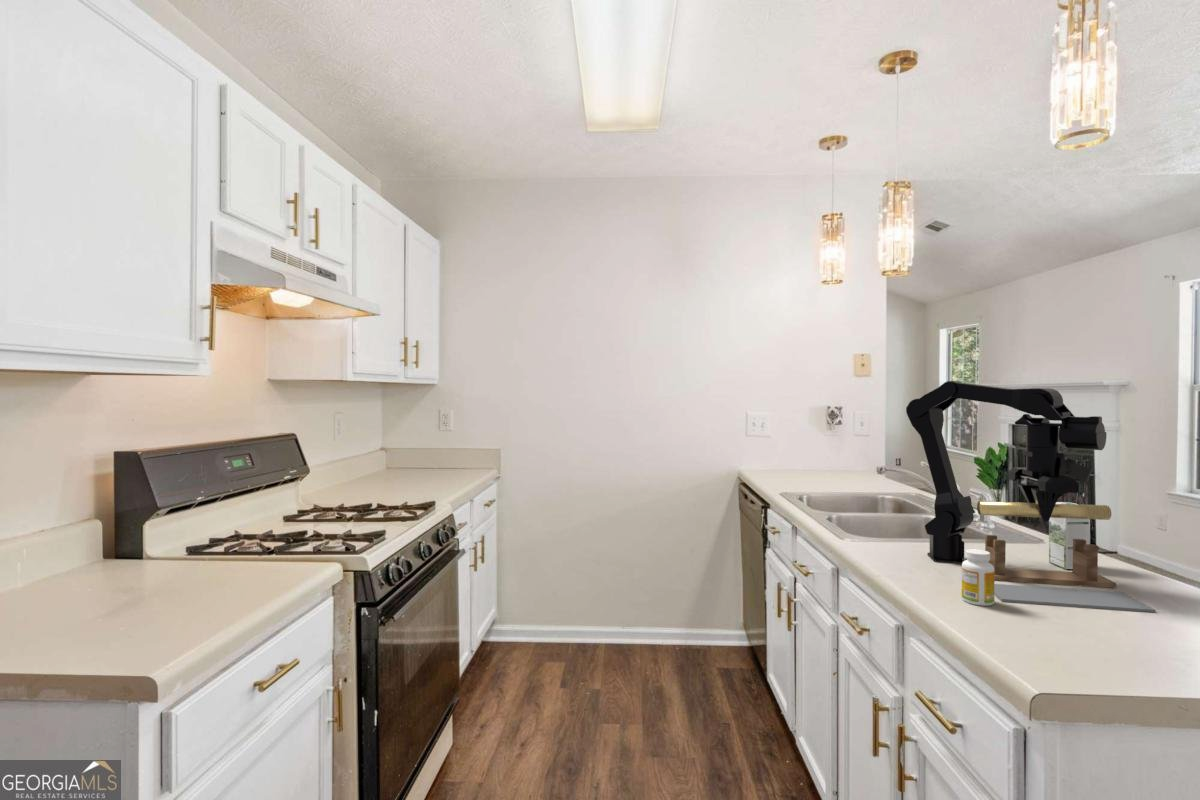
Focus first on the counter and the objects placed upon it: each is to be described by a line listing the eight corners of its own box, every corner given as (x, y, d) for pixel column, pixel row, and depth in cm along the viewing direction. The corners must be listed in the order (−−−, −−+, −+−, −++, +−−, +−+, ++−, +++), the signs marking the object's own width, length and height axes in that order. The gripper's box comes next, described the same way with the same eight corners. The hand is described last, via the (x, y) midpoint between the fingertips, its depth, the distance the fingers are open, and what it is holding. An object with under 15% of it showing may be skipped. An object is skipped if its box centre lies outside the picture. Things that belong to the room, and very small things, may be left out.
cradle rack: (980, 579, 132) (980, 540, 132) (969, 570, 139) (969, 533, 139) (1116, 588, 126) (1116, 547, 126) (1097, 577, 133) (1098, 539, 133)
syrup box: (1091, 570, 139) (1092, 506, 138) (1065, 570, 139) (1065, 506, 138) (1072, 563, 144) (1073, 501, 144) (1047, 563, 144) (1047, 501, 144)
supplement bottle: (989, 598, 120) (990, 549, 120) (997, 607, 115) (998, 556, 115) (958, 595, 122) (959, 547, 122) (965, 604, 117) (965, 553, 116)
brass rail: (982, 516, 132) (982, 502, 132) (977, 513, 135) (977, 500, 135) (1111, 521, 127) (1111, 506, 127) (1103, 518, 130) (1103, 504, 130)
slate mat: (1001, 601, 118) (1001, 598, 118) (982, 585, 128) (982, 583, 128) (1155, 612, 112) (1155, 609, 112) (1123, 594, 122) (1123, 592, 122)
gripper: (1111, 451, 120) (1111, 531, 120) (1063, 443, 138) (1063, 512, 138) (1046, 450, 123) (1046, 528, 123) (1007, 442, 141) (1007, 510, 141)
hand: (1042, 519), depth 131 cm, fingers closed on brass rail, 3 cm apart
